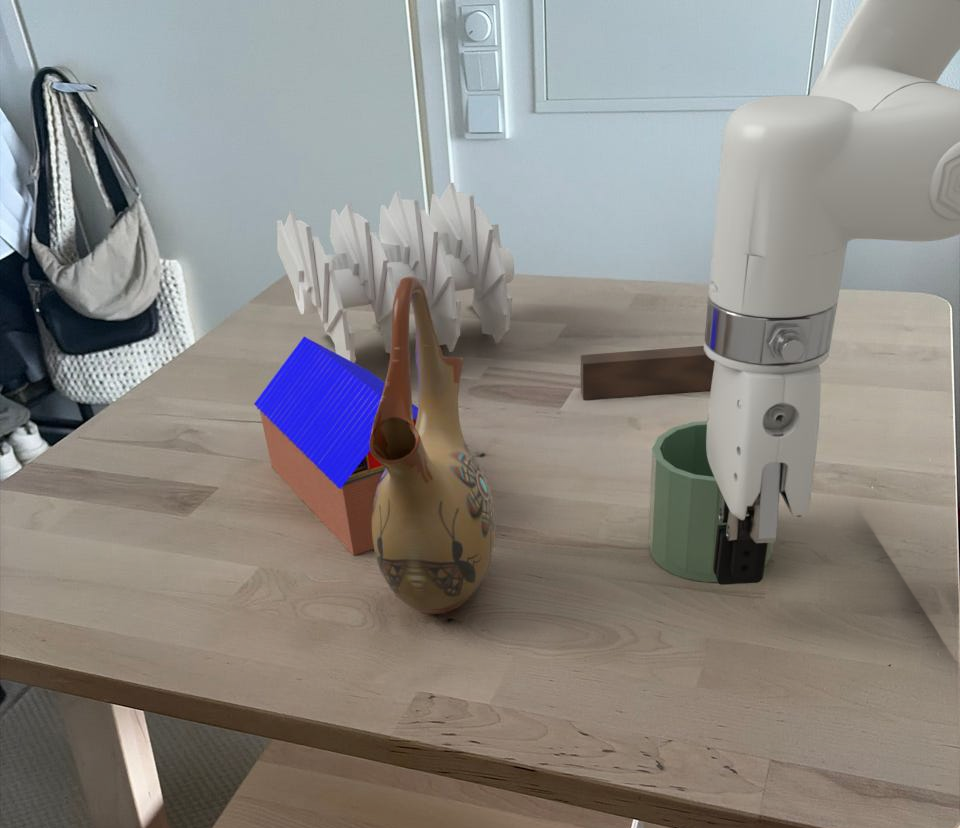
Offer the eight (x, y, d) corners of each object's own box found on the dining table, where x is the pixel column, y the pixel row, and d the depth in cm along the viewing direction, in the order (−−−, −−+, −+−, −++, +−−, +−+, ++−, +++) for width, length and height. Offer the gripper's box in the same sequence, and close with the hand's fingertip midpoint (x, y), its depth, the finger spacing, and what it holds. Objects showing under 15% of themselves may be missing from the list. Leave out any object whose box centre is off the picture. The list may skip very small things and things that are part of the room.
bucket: (755, 513, 88) (766, 416, 82) (785, 577, 80) (800, 475, 75) (640, 521, 88) (643, 425, 83) (660, 586, 80) (665, 485, 75)
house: (351, 558, 86) (330, 431, 79) (267, 467, 100) (242, 352, 93) (475, 515, 91) (465, 391, 84) (377, 433, 105) (362, 321, 98)
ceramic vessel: (477, 664, 74) (447, 326, 59) (357, 656, 76) (298, 325, 61) (515, 542, 87) (499, 237, 71) (412, 537, 88) (374, 238, 73)
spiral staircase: (522, 375, 124) (321, 413, 116) (469, 274, 131) (277, 303, 123) (556, 251, 108) (326, 285, 100) (493, 145, 115) (275, 168, 107)
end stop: (711, 380, 110) (714, 344, 107) (716, 390, 108) (719, 353, 105) (580, 390, 110) (580, 354, 107) (583, 400, 108) (583, 363, 105)
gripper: (871, 372, 57) (820, 637, 68) (796, 282, 68) (763, 520, 80) (735, 380, 57) (706, 644, 68) (683, 289, 68) (666, 526, 80)
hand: (737, 576), depth 74 cm, fingers closed
